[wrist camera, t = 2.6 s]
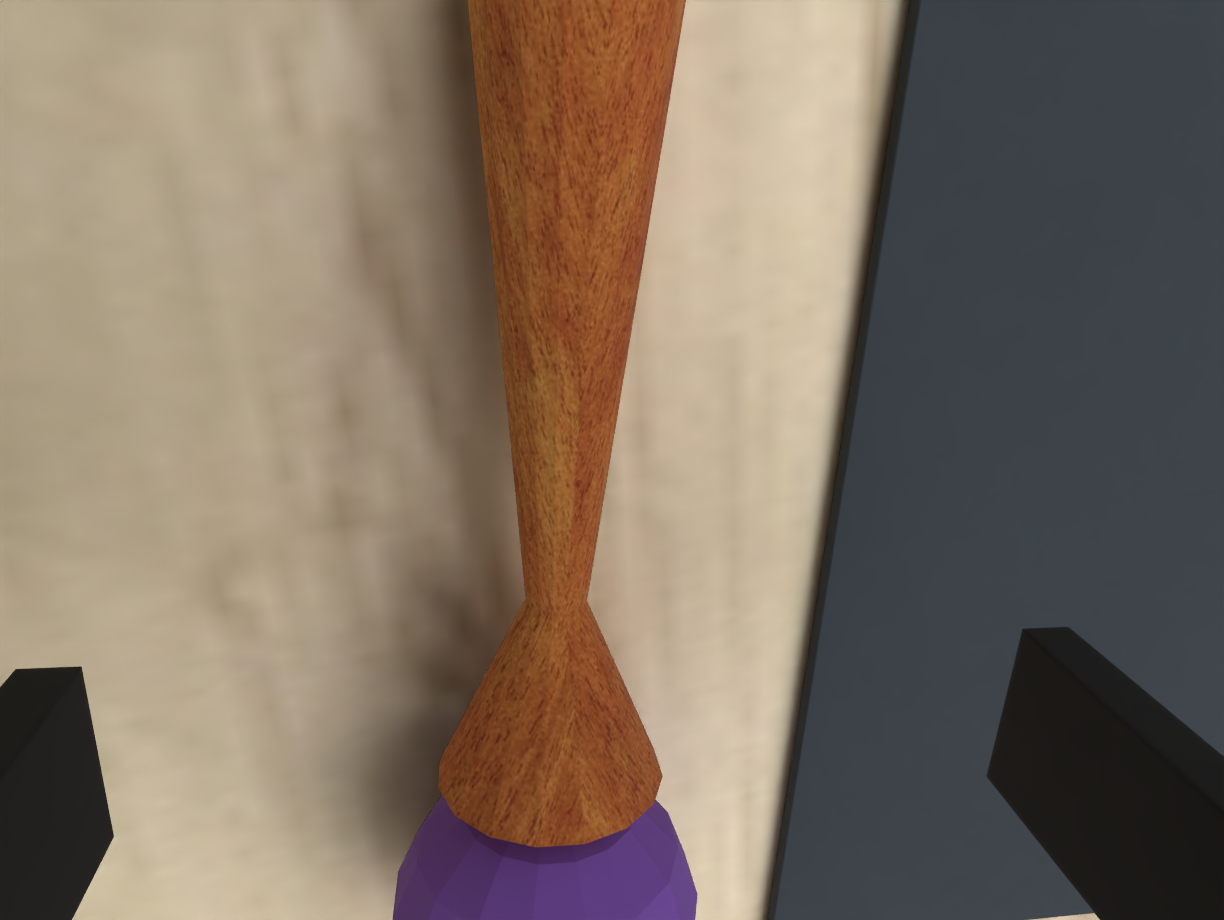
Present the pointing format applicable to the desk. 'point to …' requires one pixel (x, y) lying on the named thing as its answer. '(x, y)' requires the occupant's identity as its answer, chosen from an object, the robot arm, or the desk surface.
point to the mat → (1016, 441)
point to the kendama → (559, 482)
